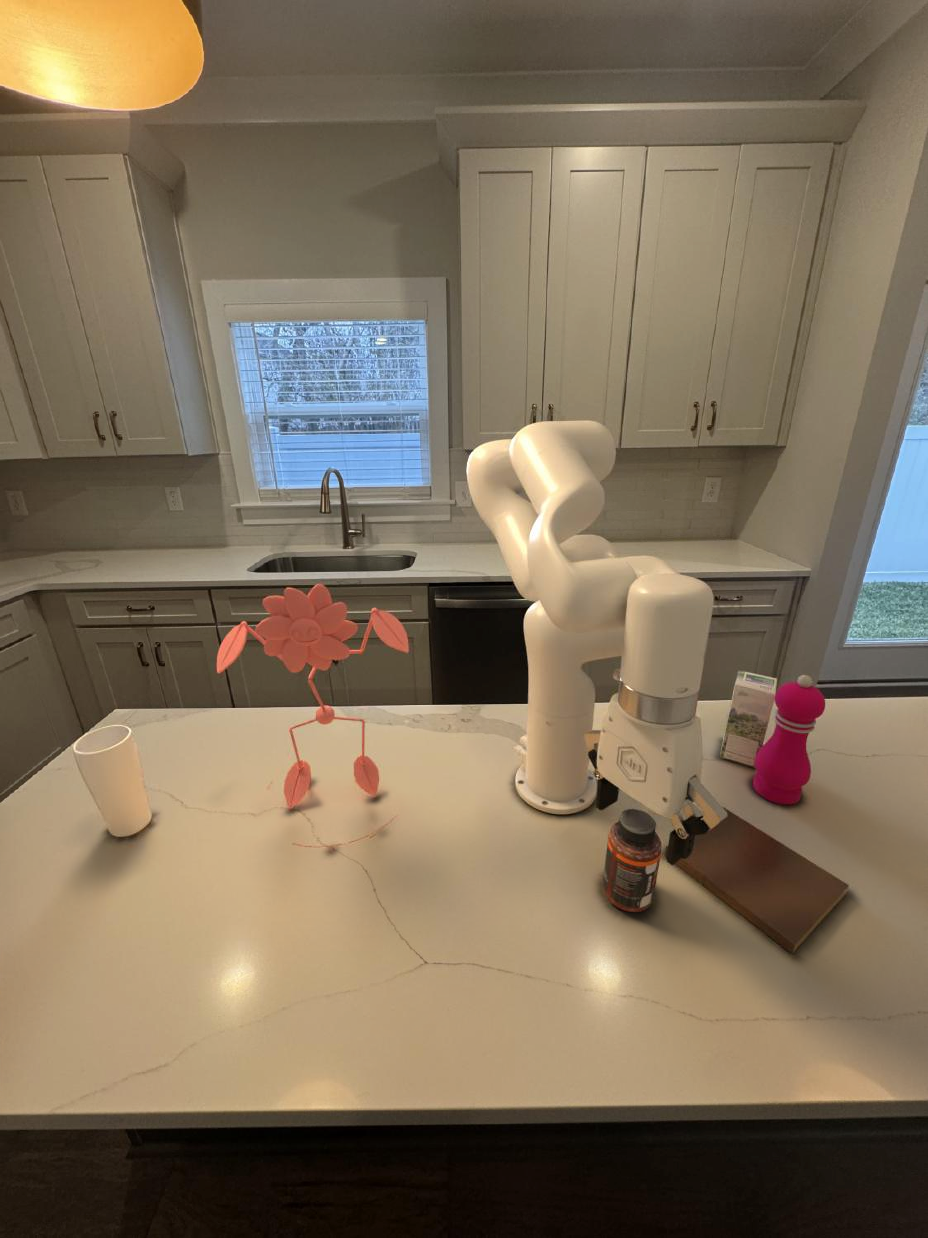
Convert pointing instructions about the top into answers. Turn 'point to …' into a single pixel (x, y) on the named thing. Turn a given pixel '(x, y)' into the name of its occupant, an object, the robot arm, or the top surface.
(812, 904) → the cutting board
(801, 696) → the pepper mill
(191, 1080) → the top surface
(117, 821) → the drinking glass
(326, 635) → the figurine
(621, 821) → the supplement bottle
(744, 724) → the syrup box
